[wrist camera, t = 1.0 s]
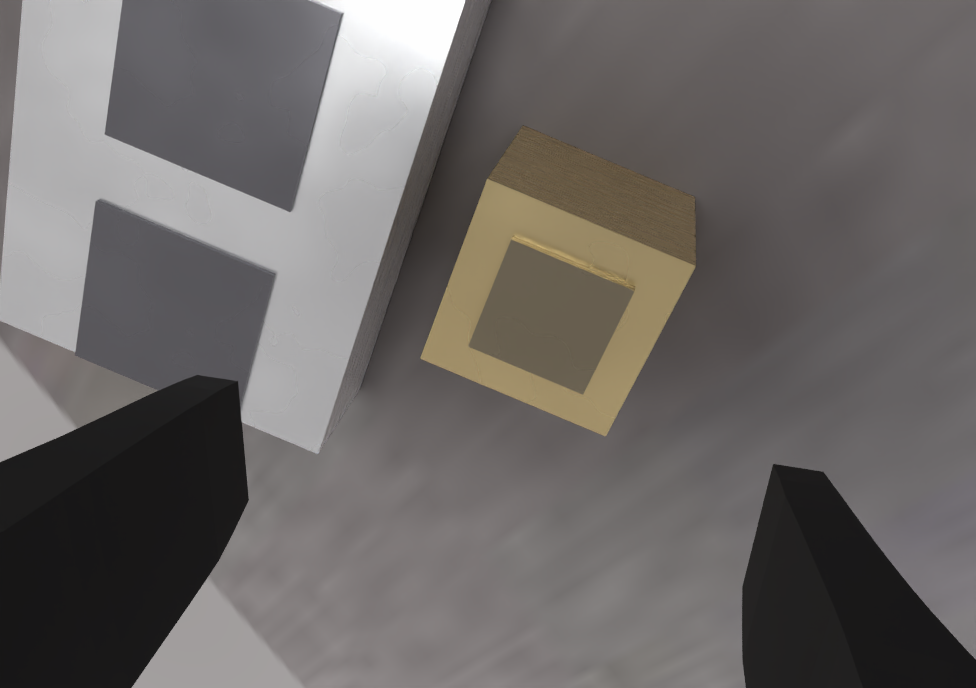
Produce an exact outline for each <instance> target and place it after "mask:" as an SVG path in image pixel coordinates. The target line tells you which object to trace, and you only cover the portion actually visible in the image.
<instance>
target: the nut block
mask: <svg viewBox="0 0 976 688" xmlns="http://www.w3.org/2000/svg"><path fill="white" fill-rule="evenodd" d="M695 267H696V239H695V197H693V196H691V195H689V194H686V193H684V192H681V191H679V190H677V189H674V188H672V187H669V186H667V185H665V184H662V183H660V182H657V181H655V180H653V179H650V178H648V177H645V176H643V175H641V174H638V173H636V172H634V171H631V170H629V169H626V168H624V167H622V166H619V165H617V164H614V163H612V162H610V161H607V160H605V159H602V158H600V157H598V156H595V155H593V154H590V153H588V152H586V151H583V150H581V149H578V148H576V147H574V146H571V145H569V144H566V143H564V142H562V141H559V140H557V139H555V138H552V137H550V136H547V135H545V134H543V133H540V132H538V131H535V130H533V129H531V128H528V127H526V126H522V128H521V129H520V131H519V132H518V134H517V135H516V137H515V138H514V140H513V141H512V143H511V144H510V145H509V147H508V148H507V150H506V151H505V153H504V154H503V156H502V157H501V159H500V160H499V162H498V163H497V165H496V166H495V168H494V169H493V171H492V172H491V174H490V175H489V177H488V178H487V181H486V183H485V186H484V189H483V191H482V194H481V197H480V199H479V202H478V205H477V208H476V210H475V213H474V216H473V218H472V221H471V224H470V226H469V229H468V232H467V234H466V237H465V240H464V242H463V245H462V248H461V250H460V253H459V256H458V258H457V261H456V264H455V266H454V269H453V272H452V275H451V277H450V280H449V283H448V285H447V288H446V291H445V293H444V296H443V299H442V301H441V304H440V307H439V309H438V312H437V315H436V317H435V320H434V323H433V325H432V328H431V331H430V333H429V336H428V339H427V342H426V344H425V347H424V350H423V352H422V355H421V358H420V359H422V360H425V361H427V362H429V363H432V364H434V365H436V366H439V367H441V368H444V369H446V370H448V371H451V372H453V373H455V374H458V375H460V376H463V377H465V378H467V379H470V380H472V381H475V382H477V383H479V384H482V385H484V386H486V387H489V388H491V389H494V390H496V391H498V392H501V393H503V394H506V395H508V396H510V397H513V398H515V399H517V400H520V401H522V402H525V403H527V404H529V405H532V406H534V407H536V408H539V409H541V410H544V411H546V412H548V413H551V414H553V415H556V416H558V417H560V418H563V419H565V420H567V421H570V422H572V423H575V424H577V425H579V426H582V427H584V428H587V429H589V430H591V431H594V432H596V433H598V434H601V435H603V436H606V435H607V433H608V431H609V429H610V427H611V426H612V424H613V422H614V420H615V418H616V416H617V414H618V412H619V410H620V409H621V407H622V405H623V403H624V401H625V399H626V397H627V395H628V394H629V392H630V390H631V388H632V386H633V384H634V382H635V380H636V378H637V377H638V375H639V373H640V371H641V369H642V367H643V365H644V363H645V361H646V360H647V358H648V356H649V354H650V352H651V350H652V348H653V346H654V344H655V343H656V341H657V339H658V337H659V335H660V333H661V331H662V329H663V327H664V326H665V324H666V322H667V320H668V318H669V316H670V314H671V312H672V310H673V309H674V307H675V305H676V303H677V301H678V299H679V297H680V295H681V293H682V292H683V290H684V288H685V286H686V284H687V282H688V280H689V278H690V276H691V275H692V273H693V271H694V269H695Z"/></svg>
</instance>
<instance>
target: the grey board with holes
mask: <svg viewBox="0 0 976 688" xmlns="http://www.w3.org/2000/svg"><path fill="white" fill-rule="evenodd" d="M490 3H491V0H23V2H22V14H21V27H20V40H19V53H18V65H17V78H16V91H15V103H14V116H13V129H12V141H11V154H10V167H9V179H8V192H7V205H6V218H5V230H4V243H3V256H2V268H1V281H0V321H2V322H4V323H7V324H9V325H12V326H14V327H16V328H19V329H21V330H23V331H26V332H28V333H31V334H33V335H35V336H38V337H40V338H43V339H45V340H47V341H50V342H52V343H54V344H57V345H59V346H62V347H64V348H66V349H69V350H71V351H73V352H75V355H76V356H78V357H80V358H83V359H85V360H87V361H90V362H92V363H95V364H97V365H99V366H102V367H104V368H107V369H109V370H111V371H114V372H116V373H118V374H121V375H123V376H126V377H128V378H130V379H133V380H135V381H137V382H140V383H142V384H145V385H147V386H149V387H152V388H154V389H157V390H161V389H163V388H166V387H168V386H170V385H172V384H175V383H177V382H180V381H182V380H185V379H187V378H190V377H193V376H195V375H201V376H208V377H214V378H221V379H227V380H233V381H238V386H239V398H240V409H241V420H242V423H245V424H247V425H250V426H252V427H254V428H257V429H259V430H262V431H264V432H266V433H269V434H271V435H273V436H276V437H278V438H281V439H283V440H285V441H288V442H290V443H292V444H295V445H297V446H300V447H302V448H304V449H307V450H309V451H312V452H314V453H316V454H319V452H320V451H321V449H322V447H323V446H324V444H325V443H326V441H327V440H328V438H329V437H330V435H331V433H332V432H333V430H334V429H335V427H336V426H337V424H338V423H339V421H340V419H341V418H342V416H343V415H344V413H345V412H346V410H347V408H348V407H349V405H350V404H351V402H352V401H353V399H354V398H355V396H356V394H357V393H358V391H359V390H360V387H361V384H362V381H363V378H364V375H365V372H366V370H367V367H368V364H369V361H370V358H371V355H372V352H373V349H374V346H375V343H376V340H377V337H378V334H379V331H380V328H381V325H382V322H383V319H384V316H385V313H386V310H387V307H388V304H389V302H390V299H391V296H392V293H393V290H394V287H395V284H396V281H397V278H398V275H399V272H400V269H401V266H402V263H403V260H404V257H405V254H406V251H407V248H408V245H409V242H410V239H411V237H412V234H413V231H414V228H415V225H416V222H417V219H418V216H419V213H420V210H421V207H422V204H423V201H424V198H425V195H426V192H427V189H428V186H429V183H430V180H431V177H432V174H433V171H434V169H435V166H436V163H437V160H438V157H439V154H440V151H441V148H442V145H443V142H444V139H445V136H446V133H447V130H448V127H449V124H450V121H451V118H452V115H453V112H454V109H455V106H456V104H457V101H458V98H459V95H460V92H461V89H462V86H463V83H464V80H465V77H466V74H467V71H468V68H469V65H470V62H471V59H472V56H473V53H474V50H475V47H476V44H477V41H478V38H479V36H480V33H481V30H482V27H483V24H484V21H485V18H486V15H487V12H488V9H489V6H490Z"/></svg>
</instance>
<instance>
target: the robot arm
mask: <svg viewBox="0 0 976 688" xmlns="http://www.w3.org/2000/svg"><path fill="white" fill-rule="evenodd" d="M248 500H249V499H248V487H247V476H246V465H245V454H244V442H243V431H242V420H241V409H240V398H239V386H238V381H233V380H227V379H221V378H214V377H208V376H201V375H195V376H193V377H190V378H187V379H185V380H182V381H180V382H177V383H175V384H172V385H170V386H168V387H166V388H163V389H161V390H159V391H157V392H155V393H152V394H150V395H148V396H146V397H144V398H142V399H140V400H137V401H135V402H133V403H131V404H129V405H127V406H125V407H123V408H121V409H118V410H116V411H114V412H112V413H110V414H108V415H106V416H104V417H101V418H99V419H97V420H95V421H93V422H91V423H89V424H86V425H84V426H82V427H80V428H78V429H76V430H74V431H72V432H69V433H67V434H65V435H63V436H61V437H59V438H56V439H54V440H52V441H49V442H47V443H44V444H42V445H40V446H37V447H35V448H33V449H30V450H28V451H26V452H23V453H21V454H19V455H16V456H14V457H12V458H9V459H7V460H5V461H2V462H0V688H131V687H132V686H133V685H134V683H135V682H136V680H137V679H138V677H139V676H140V675H141V673H142V672H143V670H144V669H145V667H146V666H147V665H148V663H149V662H150V660H151V659H152V657H153V656H154V654H155V653H156V652H157V650H158V649H159V647H160V646H161V644H162V643H163V641H164V640H165V639H166V637H167V636H168V634H169V633H170V631H171V630H172V629H173V627H174V626H175V624H176V623H177V621H178V620H179V618H180V617H181V615H182V614H183V613H184V611H185V609H186V608H187V607H188V605H189V604H190V603H191V601H192V600H193V598H194V597H195V595H196V594H197V592H198V591H199V589H200V588H201V586H202V585H203V583H204V582H205V580H206V579H207V577H208V576H209V575H210V573H211V571H212V570H213V568H214V567H215V565H216V564H217V562H218V561H219V559H220V557H221V555H222V553H223V551H224V549H225V547H226V546H227V544H228V542H229V540H230V538H231V536H232V534H233V532H234V530H235V528H236V526H237V524H238V521H239V519H240V517H241V515H242V513H243V511H244V509H245V507H246V505H247V503H248ZM742 652H743V666H744V675H745V683H746V688H976V660H975V659H974V658H973V656H972V655H971V654H970V653H969V652H968V651H967V650H966V649H965V648H964V647H963V646H962V645H961V644H960V643H959V642H958V640H957V639H956V638H955V637H954V636H953V635H952V634H951V633H950V632H949V630H948V629H947V628H946V627H945V626H944V625H943V624H942V623H941V622H940V621H939V619H938V618H937V617H936V616H935V615H934V614H933V613H932V612H931V611H930V609H929V608H928V607H927V606H926V605H925V604H924V602H923V601H922V600H921V599H920V598H919V597H918V595H917V594H916V593H915V592H914V591H913V589H912V588H911V587H910V586H909V585H908V583H907V582H906V581H905V580H904V578H903V577H902V576H901V575H900V573H899V572H898V571H897V570H896V568H895V567H894V566H893V565H892V563H891V562H890V561H889V560H888V558H887V557H886V556H885V554H884V553H883V552H882V551H881V549H880V548H879V547H878V545H877V544H876V543H875V541H874V540H873V539H872V537H871V536H870V535H869V533H868V532H867V531H866V529H865V528H864V527H863V525H862V524H861V523H860V521H859V520H858V518H857V517H856V516H855V514H854V513H853V512H852V510H851V509H850V507H849V506H848V505H847V503H846V502H845V501H844V499H843V498H842V497H841V495H840V494H839V492H838V491H837V490H836V488H835V487H834V486H833V484H832V483H831V482H830V480H829V479H828V478H827V476H826V475H825V474H824V472H821V471H814V470H808V469H801V468H795V467H788V466H782V465H776V464H773V467H772V471H771V475H770V479H769V483H768V487H767V491H766V495H765V499H764V503H763V507H762V511H761V515H760V519H759V523H758V527H757V531H756V535H755V539H754V543H753V547H752V551H751V555H750V559H749V563H748V567H747V571H746V575H745V579H744V583H743V595H742Z"/></svg>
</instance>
